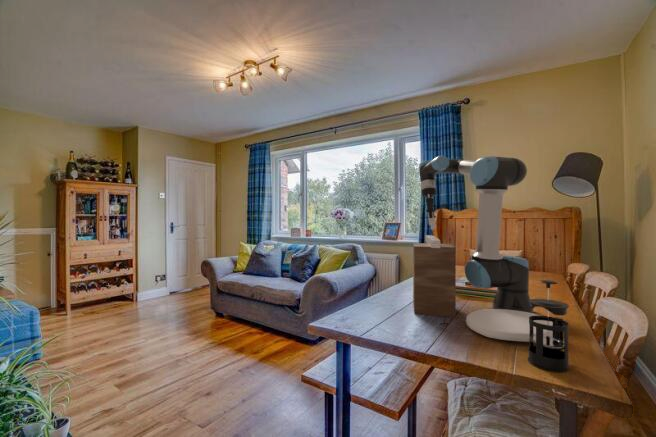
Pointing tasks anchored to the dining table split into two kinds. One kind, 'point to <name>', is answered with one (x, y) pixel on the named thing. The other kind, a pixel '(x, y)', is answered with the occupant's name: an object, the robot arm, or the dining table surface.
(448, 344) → the dining table surface
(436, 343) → the dining table surface
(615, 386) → the dining table surface
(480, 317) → the plate
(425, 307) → the walnut stand
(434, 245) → the metal bar
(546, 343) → the french press
